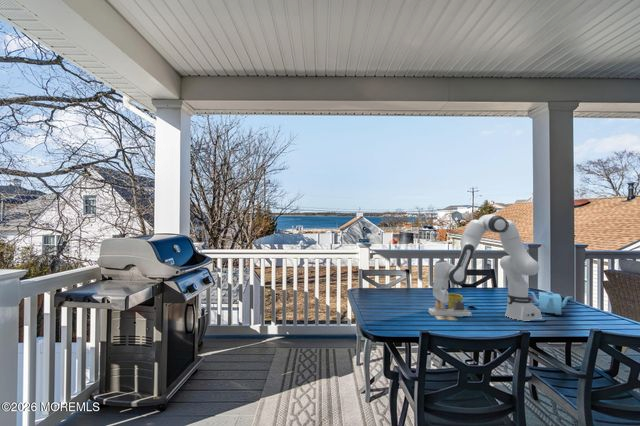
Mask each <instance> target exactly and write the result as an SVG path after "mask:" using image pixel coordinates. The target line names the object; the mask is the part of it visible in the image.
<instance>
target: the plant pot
mask: <svg viewBox="0 0 640 426" xmlns="http://www.w3.org/2000/svg"><path fill="white" fill-rule="evenodd" d="M463 298H464V297H463V295H461V294H459V293H448V300H449V301H448V303H447V305H448V306H447V307H448V308H447V309H452V308H454V302H458V299H461V302H463Z"/></svg>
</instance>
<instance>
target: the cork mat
mask: <svg viewBox="0 0 640 426" xmlns="http://www.w3.org/2000/svg"><path fill="white" fill-rule="evenodd" d="M433 316H434V318H435V319H437V320H438V321H439V320H440V321H458V320H459V319H458V318H456V316H440V315H433Z"/></svg>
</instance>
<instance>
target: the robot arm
mask: <svg viewBox="0 0 640 426" xmlns="http://www.w3.org/2000/svg"><path fill="white" fill-rule="evenodd" d="M486 232H489V233H490V232H491V233H496V234H498V235H499V239H500V242H501V245H502V248H503V251H504V252H505V253H506V254H508V255H504V256H503V257H501V258H500V260H499V266H500V268H501V269H502V270H503V271H504V274H505V276H506V279H507V288H508V289H507V295H506V297H507V298H506V300H507V301H506V303H507V304H506V305H507V306H506V310H505V313H504V317H506V316H507V317H506V318H508V317H509V318H508V319H511V318H512V319H511V320H514V319H517V320H516V321H519V320H523V321H530V320H532V319H542V317H543V316H542V315H543V314H541V311H540V310H539V307H537V306H536V305H534V304H533V303H532V302H535V300H534V298H533V297H530V296H529V284H528V282H527V281H526V280H525V279H524V276H535V275H537V274H538V273H539V271H540V264H539V262H538V261H537V260H535V259H534V258H533V257H532V256H531V255H530V254H529V253H528V251H527V250H526V248H525V247H524V244H523V242H522V241H523V240H522V238H521V236H520V233H519V229H518V228H517V225H516V224H515V222H514V221H513V220H510V219H506V218H505V217H503V216H501V215H497V214H492V213H490V214H489V213H484V214H482V215H480V216H479V217H478V218H477V219H471V220H470V221H469V222H468V223H467V224H466V226H465V229H464V230H463V232H462V235H461V238H460V241H459V244H460V249H461V251H460V252H461V253H460V254H459V255H460V256H459V258H458V260H457V263H456V265H454V264H453V263H451V262H449V261H448V260H445V259H444V260H443V259H442V260H437V261H436V262H435V263H434V267H433V276H434V277H433V281H432V283H431V286H432V295H433V297H434V298H436V301H440V308H443V305H444V303H445V304H448V301H449V300H448V294H449V291H448V290H449V281H450V282H451V283H452V284H453V285H456V286H462V285H464V284H465V283H466V281H467V280H468V275H467V274H468V268H469V265H470V262H471V260H472V258H473V255H474V253H475V251H476V250H477V248H478V247H479V245H480V243H481V240H482V239H483V235H484V234H485V233H486ZM523 321H522V322H523Z"/></svg>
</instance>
